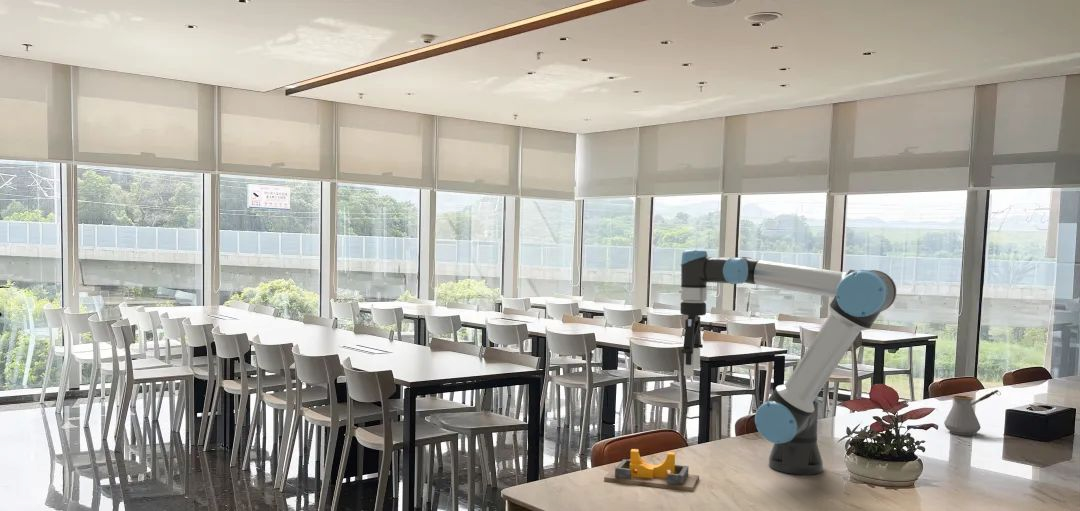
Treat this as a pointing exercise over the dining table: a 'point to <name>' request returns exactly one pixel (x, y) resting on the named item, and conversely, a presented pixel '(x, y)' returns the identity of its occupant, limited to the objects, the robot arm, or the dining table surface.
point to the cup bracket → (673, 481)
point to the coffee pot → (964, 415)
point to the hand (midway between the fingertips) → (691, 372)
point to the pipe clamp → (651, 466)
